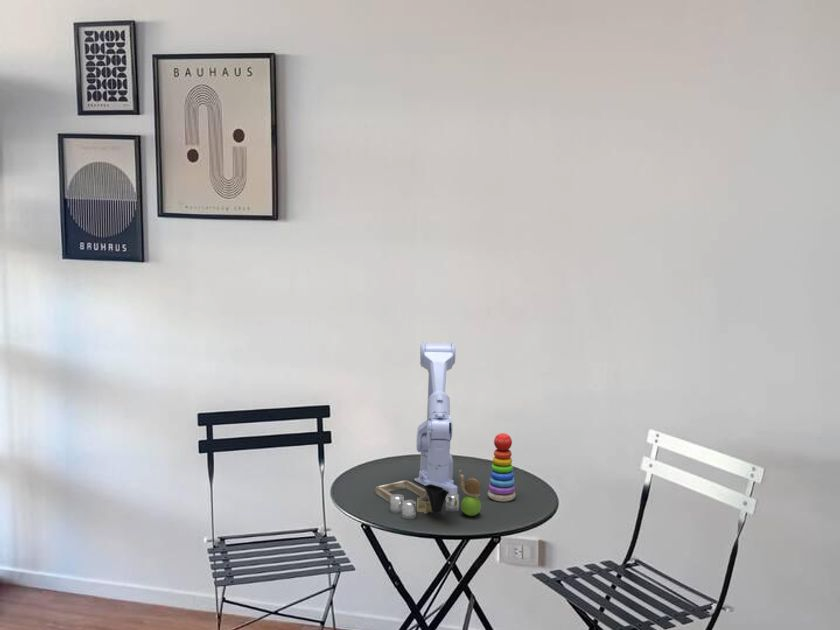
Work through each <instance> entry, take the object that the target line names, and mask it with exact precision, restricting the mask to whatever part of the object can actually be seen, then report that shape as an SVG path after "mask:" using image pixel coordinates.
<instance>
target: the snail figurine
mask: <svg viewBox="0 0 840 630" xmlns="http://www.w3.org/2000/svg"><path fill="white" fill-rule="evenodd" d="M462 471H463V470H462V469H459V471H458V473H459V484H460V488H461V490H462V492H463V494H465V495H466V496H465V497H463V499H462V500H461V502H460V508H461V511H462V512H463V513H464V514H465V515H467V516H469V517H473V516H476V515H477V514H479V513H480V512H481V510H482V509H481V508H482V502H481V500H480V499H479V496H481V493H480V492H481V491H480V490H481V489H482V486H481V482H480V481H479V480H478V479H476V478H474V477H470V478H468V479H466V480H465V475H464V474H462ZM464 480H465V481H464Z"/></svg>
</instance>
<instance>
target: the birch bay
mask: <svg viewBox="0 0 840 630" xmlns="http://www.w3.org/2000/svg"><path fill="white" fill-rule="evenodd" d="M402 489H407V490H408V491H410V492H412V493H414V494H415V495H417V496H418V497H423V496H427V497H428V494H427V492H426V490H425V488H423V487H421V486H419V485H418V484H415V483H414V482H412V481H409V480H408V479H403V480H399V481H396V482H391V483H387V484H382V485H377V486H375V487H374V494H375V495H377V496H378V497H380V498H382V499H383V500H385V501H386V502H388V503H390V499H391V495H393V494H392V493H390V492H394V491H398V490H402Z"/></svg>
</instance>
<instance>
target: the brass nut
mask: <svg viewBox="0 0 840 630" xmlns="http://www.w3.org/2000/svg"><path fill="white" fill-rule="evenodd" d="M416 511H417V512H418V513H422V512H424V513H423V514H428V512H430V513H433V512H432V509H431V504H430V500H429V497H428V495H427V496H423V497H421V496H418V497H416Z"/></svg>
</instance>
